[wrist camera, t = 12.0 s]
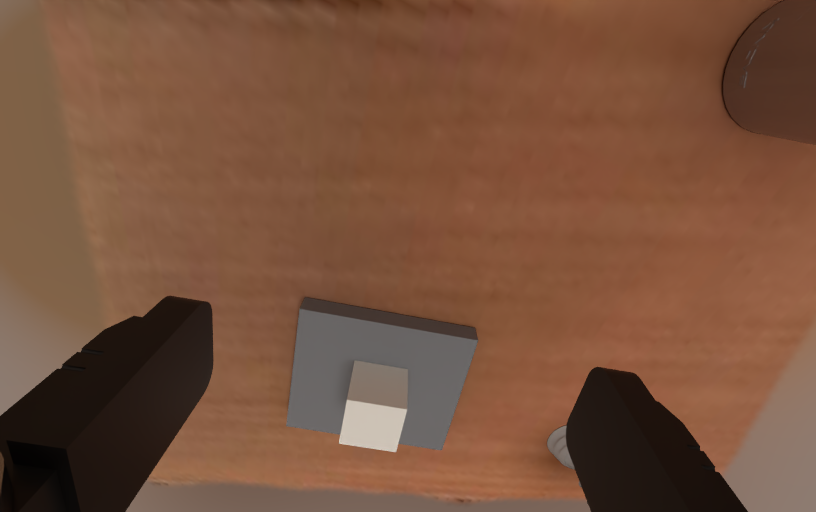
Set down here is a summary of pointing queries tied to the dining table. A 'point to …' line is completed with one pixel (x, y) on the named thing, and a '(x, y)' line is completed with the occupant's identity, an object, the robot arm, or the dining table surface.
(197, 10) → the dining table surface
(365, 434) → the cube
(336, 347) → the slate board
